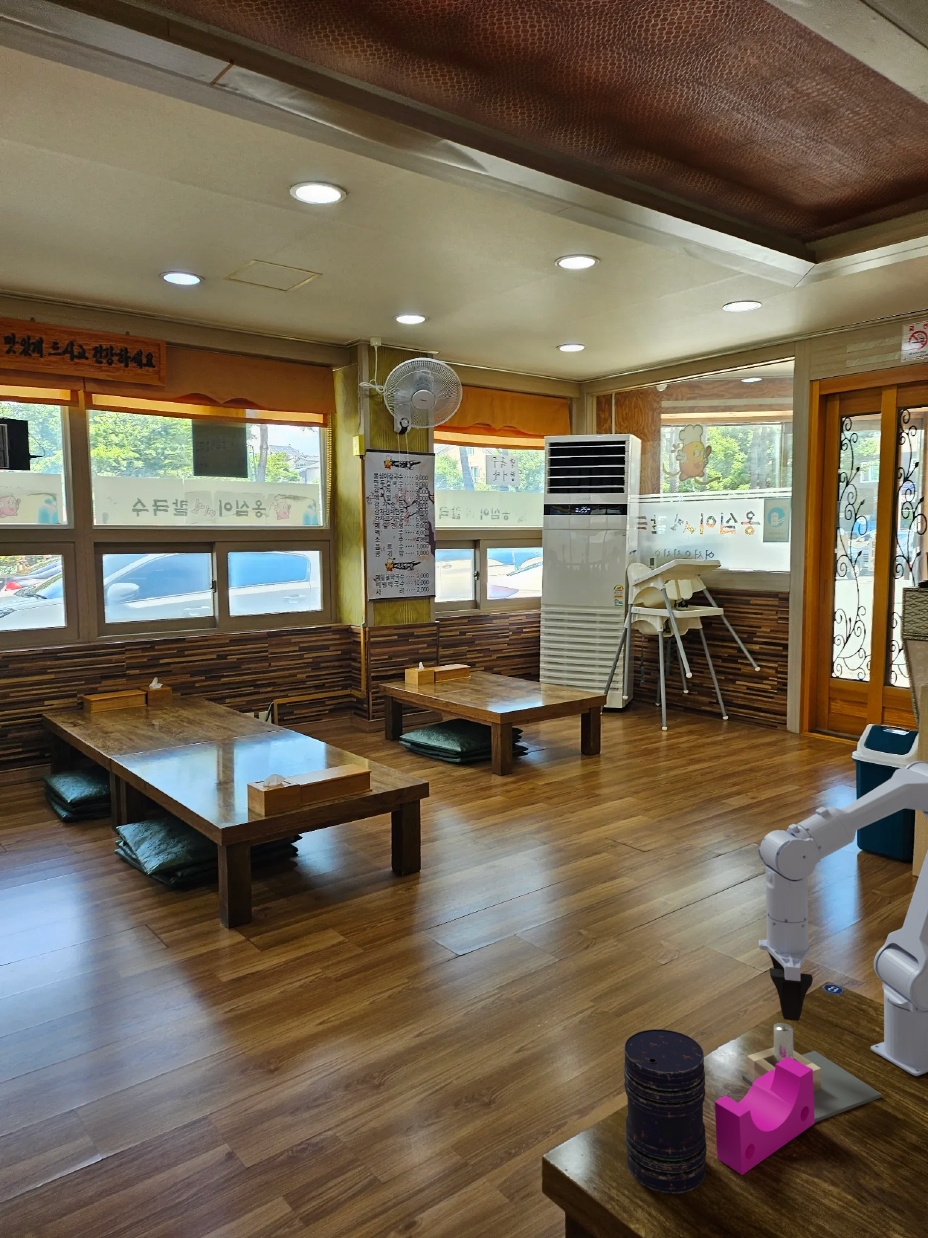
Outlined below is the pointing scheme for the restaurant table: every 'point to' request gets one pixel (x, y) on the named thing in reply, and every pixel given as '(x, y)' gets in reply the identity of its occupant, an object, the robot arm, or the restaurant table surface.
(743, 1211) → the restaurant table surface
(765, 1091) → the toy block
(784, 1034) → the metal pin
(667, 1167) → the dark metal barrel
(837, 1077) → the charcoal mat
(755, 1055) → the birch square frame
